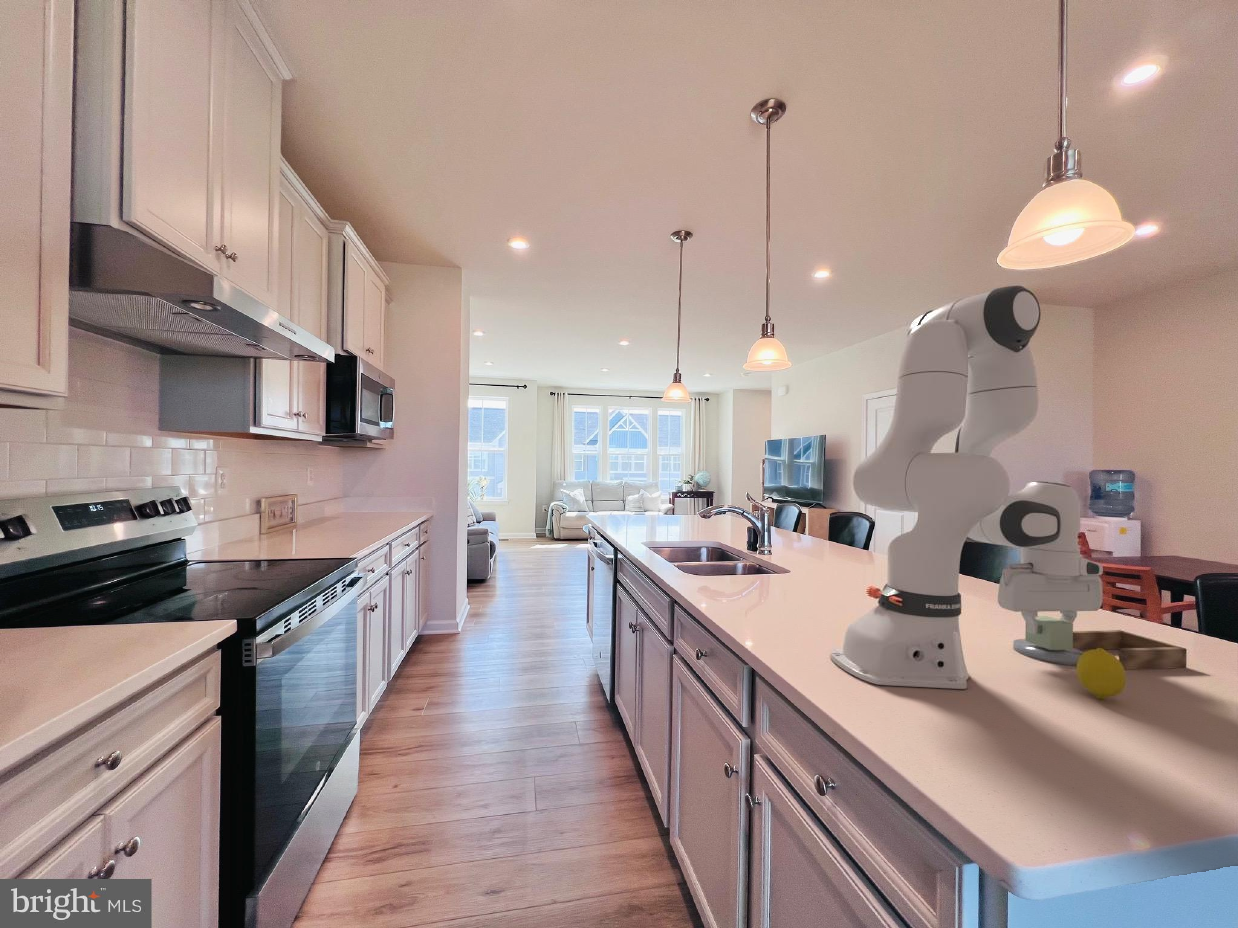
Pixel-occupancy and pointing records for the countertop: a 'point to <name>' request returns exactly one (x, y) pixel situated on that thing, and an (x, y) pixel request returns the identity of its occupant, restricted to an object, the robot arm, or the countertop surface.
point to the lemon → (1101, 673)
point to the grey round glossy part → (1047, 653)
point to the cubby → (1132, 649)
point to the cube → (1052, 634)
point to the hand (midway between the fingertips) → (1048, 632)
